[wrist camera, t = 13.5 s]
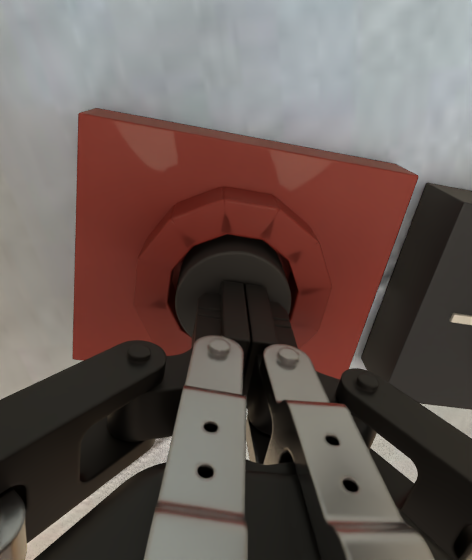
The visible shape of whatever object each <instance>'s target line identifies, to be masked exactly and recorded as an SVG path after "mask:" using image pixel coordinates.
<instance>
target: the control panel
mask: <svg viewBox="0 0 472 560" xmlns="http://www.w3.org/2000/svg"><path fill="white" fill-rule="evenodd" d="M361 359H362V361H363V363H364V365H365V367H366V369H367V371H369V372H372V373H374V374H376V375H378V376H379V377H381V378H383V379H384V380H385V381H387V382H388V383H390V384H391V385H393V386H394V387H396V388H397V389H399V390H400V391H402V392H403V393H405V394H406V395H408V396H409V397H411V398H412V399H414V400H415V401H417V402H418V403H421V404H430V405H438V406H447V407H455V408H463V409H472V191H469V190H464V189H458V188H453V187H447V186H442V185H436V184H431V183H427V184H426V187H425V189H424V192H423V195H422V197H421V200H420V203H419V205H418V208H417V211H416V213H415V216H414V219H413V221H412V224H411V227H410V229H409V232H408V235H407V237H406V240H405V243H404V245H403V248H402V251H401V253H400V256H399V259H398V261H397V264H396V267H395V269H394V272H393V275H392V277H391V280H390V283H389V285H388V288H387V291H386V293H385V296H384V299H383V301H382V304H381V307H380V309H379V312H378V315H377V317H376V320H375V323H374V325H373V328H372V331H371V333H370V336H369V339H368V341H367V344H366V347H365V349H364V352H363V355H362V357H361Z"/></svg>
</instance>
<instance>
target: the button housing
mask: <svg viewBox="0 0 472 560" xmlns="http://www.w3.org/2000/svg"><path fill="white" fill-rule="evenodd" d="M417 180H418V175H416V174H414V173H412V172H410V171H408V170H406V169H404V168H402V167H400V166H399V165H397V164H393V163H387V162H382V161H377V160H371V159H366V158H361V157H355V156H350V155H345V154H339V153H334V152H329V151H323V150H318V149H313V148H307V147H302V146H297V145H291V144H286V143H281V142H275V141H270V140H265V139H259V138H254V137H249V136H243V135H238V134H233V133H227V132H222V131H217V130H211V129H206V128H201V127H195V126H190V125H185V124H179V123H174V122H169V121H163V120H158V119H153V118H147V117H142V116H137V115H131V114H126V113H121V112H115V111H110V110H105V109H99V108H94V109H91V110H88V111H84V112H81V113H79V114H78V155H77V196H76V238H75V279H74V320H73V359H76V360H86V359H89V358H91V357H93V356H95V355H97V354H99V353H101V352H103V351H106V350H108V349H110V348H112V347H114V346H116V345H118V344H121V343H123V342H126V341H132V340H143V341H148V342H152V343H154V344H156V345H158V346H160V347H161V348H162V349H163V350H164V352H165V353H166V356H172V355H178V354H182V353H185V352H187V351H188V350H190V349H191V344H192V338H191V337H190V336H189V335H188V334H187V332H186V331H185V330H184V329H183V327H182V325H181V324H180V322H179V319H178V317H177V313H176V309H175V296H176V290H177V285H178V279H179V274H180V269H181V265H182V263H183V260H184V258H185V257H186V255H187V254H188V252H189V251H190V250H191V249H192V248H193V247H194V246H195V245H198V244H201V243H204V242H207V241H210V240H213V239H215V238H218V237H221V236H224V235H227V234H228V235H234V236H240V237H247V238H253V239H259V240H263V241H264V242H265V243H267V244H268V245H269V246H270V247H272V249H273V250H274V251H275V252H276V254H277V255H278V257H279V259H280V262H281V264H282V267H283V270H284V273H285V276H286V279H287V281H288V284H289V288H290V292H291V308H290V313H289V322H290V323H291V329H292V330H293V333H294V337H295V340H296V344H297V347H298V349H300V350H302V351H303V352H305V353H306V354H307V355H308V356H309V357H310V359H311V361H312V363H313V365H314V368H315V370H316V371H318V372H320V373H322V374H325V375H328V376H331V377H334V378H337V379H340V378H341V375H342V373H343V372H344V371H346V370H348V369H349V367H350V364H351V361H352V358H353V356H354V353H355V350H356V347H357V345H358V342H359V339H360V336H361V334H362V331H363V328H364V325H365V323H366V320H367V317H368V314H369V312H370V309H371V306H372V303H373V301H374V298H375V295H376V292H377V290H378V287H379V284H380V281H381V279H382V276H383V273H384V270H385V268H386V265H387V262H388V259H389V257H390V254H391V251H392V248H393V246H394V243H395V240H396V237H397V235H398V232H399V229H400V226H401V224H402V221H403V218H404V215H405V213H406V210H407V207H408V204H409V202H410V199H411V196H412V193H413V191H414V188H415V185H416V183H417Z"/></svg>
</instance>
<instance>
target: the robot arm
mask: <svg viewBox="0 0 472 560" xmlns="http://www.w3.org/2000/svg"><path fill="white" fill-rule="evenodd" d="M246 408H247V409H248V415H247V419H246ZM377 433H378V434H379V435H381V436H382V437H383V438H384V439H386V440H387V441H388V442H390V443H391V444H392V445H393V446H395V447H396V448H397V449H399V450H400V451H401V452H402V453H404V454H405V455H406V456H408V457H409V458H410V459H411V460H412V461H413V463H414V464H415V466H416V468H417V471H418V477H417V480H416V482H415V483H413V482H412V481H410V480H409V479H408V478H407V477H405V476H404V475H403V474H402V473H400V472H399V471H398V470H397V469H395V468H394V467H393V466H392V465H391V464H389V463H388V462H387V461H386V460H384V459H383V458H382V457H381V456H380V455H378V454H377V453H376V452H375V451H373V450H372V449H371V448H370V447H371V445H372V443H373V440H374V438H375V436H376V434H377ZM169 436H172V440H171V444H170V449H169V453H168V457H167V462H166V463H162V464H158V465H155V466H152V467H149V468H147V469H145V470H143V471H141V472H139V473H137V474H135V475H134V476H132V477H131V478H129V479H128V480H127V481H125V482H124V483H123V484H121V485H120V486H119V487H118V488H117V489H116V490H114V491H113V492H112V493H111V494H110V495H109V496H107V497H106V498H105V499H104V500H103V501H102V502H100V503H99V504H98V505H97V506H96V507H95V508H93V509H92V510H91V511H90V512H89V513H88V514H86V515H85V516H84V517H83V518H82V519H81V520H79V521H78V522H77V523H76V524H75V525H74V526H72V527H71V528H70V529H69V530H68V531H66V532H65V533H64V534H63V535H62V536H61V537H59V538H58V539H57V540H56V541H55V542H54V543H52V544H51V545H50V546H49V547H48V548H47V549H45V550H44V551H43V552H42V553H41V554H40V555H38V556H37V557H36V558H35V559H34V560H472V439H471V438H470V437H468V436H467V435H465V434H464V433H462V432H461V431H459V430H458V429H456V428H455V427H454V426H452V425H451V424H449V423H448V422H446V421H445V420H443V419H442V418H440V417H439V416H437V415H436V414H434V413H433V412H431V411H430V410H428V409H427V408H425V407H424V406H422V405H421V404H419V403H418V402H417V401H415V400H414V399H412V398H411V397H409V396H408V395H406V394H405V393H403V392H402V391H400V390H399V389H397V388H396V387H394V386H393V385H391V384H390V383H388V382H387V381H385V380H384V379H383V378H381V377H379V376H378V375H376V374H374V373H372V372H369V371H366V370H363V369H348V370H346V371H344V372H343V373H342V375H341V378H340V379H337V378H334V377H331V376H328V375H325V374H322V373H320V372H318V371H316V370H315V368H314V365H313V363H312V361H311V359H310V357H309V356H308V355H307V354H306V353H305V352H303V351H302V350H300V349H298V347H297V344H296V340H295V337H294V333H293V330H292V329H291V323H290V322H289V316H288V313H287V311H286V310H285V309H284V308H283V307H282V305H281V304H280V303H278V302H271V301H269V299H268V294H267V290H266V287H264V286H257V285H250V284H244V285H243V283H236V282H229V281H223V280H222V282H221V286H220V292H219V294H214V293H207V292H205V293H204V294H203V295H202V296H201V297H200V298H199V299H198V304H197V310H196V317H195V323H194V329H193V335H192V344H191V349H190V350H188V351H187V352H185V353H182V354H178V355H172V356H166V353H165V352H164V350H163V349H162V348H161V347H160V346H158V345H156V344H154V343H152V342H148V341H143V340H132V341H126V342H123V343H121V344H118V345H116V346H114V347H112V348H110V349H108V350H106V351H103V352H101V353H99V354H97V355H95V356H93V357H91V358H89V359H86V360H84V361H82V362H80V363H78V364H76V365H74V366H71V367H69V368H67V369H65V370H63V371H61V372H59V373H57V374H54V375H52V376H50V377H48V378H46V379H44V380H42V381H40V382H37V383H35V384H33V385H31V386H29V387H27V388H25V389H23V390H20V391H18V392H16V393H14V394H12V395H10V396H8V397H5V398H3V399H1V400H0V560H25V557H26V553H27V543H28V542H29V541H31V540H32V539H33V538H35V537H36V536H37V535H39V534H40V533H41V532H43V531H44V530H45V529H46V528H48V527H49V526H50V525H52V524H53V523H54V522H56V521H57V520H58V519H59V518H61V517H62V516H63V515H65V514H66V513H67V512H69V511H70V510H71V509H73V508H74V507H75V506H76V505H78V504H79V503H80V502H82V501H83V500H84V499H86V498H87V497H88V496H89V495H91V494H92V493H93V492H95V491H96V490H97V489H99V488H100V487H101V486H103V485H104V484H105V483H106V482H108V481H109V480H110V479H112V478H113V477H114V476H116V475H117V474H118V473H119V472H121V471H122V470H123V469H125V468H126V467H127V466H129V465H130V464H131V463H133V462H134V461H135V460H136V459H138V458H139V457H140V456H142V455H143V454H144V453H146V452H147V451H148V450H149V449H150V448H151V447H152V446H153V444H154V442H155V439H157V438H163V437H169ZM246 442H247V447H248V453H249V459H250V461H249V460H246Z"/></svg>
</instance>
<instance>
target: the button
mask: <svg viewBox="0 0 472 560" xmlns="http://www.w3.org/2000/svg"><path fill="white" fill-rule="evenodd" d="M222 280H223V281H229V282H236V283H243V285H244V284H250V285H257V286H264V287H266V290H267V294H268V299H269V301H271V302H278V303H280V304H281V305H282V307H283V308H284V309H285V310H286V311H287V313H288V316H289V313H290V308H291V292H290V288H289V284H288V281H287V279H286V276H285V273H284V270H283V267H282V264H281V262H280V259H279V257H278V255H277V254H276V252H275V251H274V250H273V249H272V247H270V246H269V245H268V244H267V243H265V242H264V241H263V240H259V239H253V238H247V237H240V236H234V235H228V234H227V235H224V236H221V237H218V238H215V239H213V240H210V241H207V242H204V243H201V244H198V245H195V246H194V247H193V248H192V249H191V250H190V251H189V252H188V254H187V255H186V257H185V258H184V260H183V263H182V265H181V269H180V274H179V279H178V285H177V290H176V296H175V309H176V313H177V317H178V319H179V322H180V324H181V325H182V327H183V329H184V330H185V331H186V332H187V334H188V335H189V336H190V337H191V338H192V335H193V329H194V323H195V317H196V310H197V304H198V299H199V298H200V297H201V296H202V295H203V294H204V293H205V292H207V293H214V294H219V292H220V286H221V282H222Z"/></svg>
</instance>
